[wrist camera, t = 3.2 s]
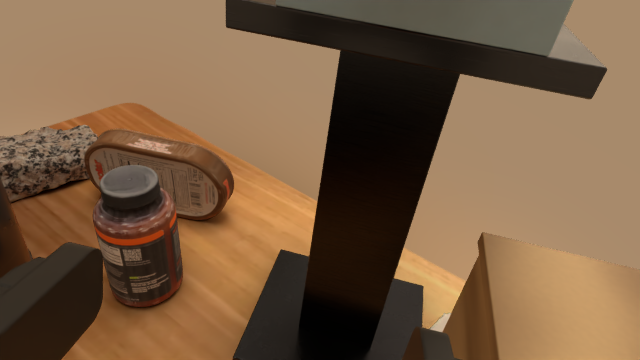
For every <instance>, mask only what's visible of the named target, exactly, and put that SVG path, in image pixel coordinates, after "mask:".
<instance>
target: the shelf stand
mask: <svg viewBox="0 0 640 360" xmlns="http://www.w3.org/2000/svg"><path fill="white" fill-rule="evenodd" d="M226 27H227V28H231V29H236V30H241V31H246V32H251V33H256V34H262V35H266V36H271V37H276V38H281V39H287V40H292V41H297V42H302V43H307V44H312V45H317V46H322V47H327V48H332V49H337V50H340V57H339V64H338V70H337V77H336V83H335V90H334V97H333V103H332V110H331V116H330V123H329V130H328V136H327V143H326V150H325V156H324V163H323V169H322V176H321V183H320V189H319V196H318V202H317V209H316V216H315V222H314V229H313V235H312V242H311V249H310V255H309V256H305V255H301V254H297V253H293V252H289V251H285V250H280V252H279V255H278V257H277V259H276V261H275V264H274V266H273V268H272V270H271V273H270V275H269V277H268V280H267V282H266V284H265V286H264V289H263V291H262V293H261V295H260V298H259V300H258V302H257V304H256V307H255V309H254V311H253V313H252V316H251V318H250V320H249V322H248V325H247V327H246V329H245V331H244V334H243V336H242V338H241V340H240V343H239V345H238V347H237V349H236V352H235V354H234V356H233V360H402V358H403V355H404V353H405V350H406V348H407V345H408V343H409V340H410V338H411V335H412V332H413V330H414V329H415V327H417V326H418V327H422V312H423V286H421V285H417V284H413V283H410V282H406V281H402V280H398V279H394V275H395V272H396V269H397V266H398V263H399V260H400V257H401V253H402V250H403V247H404V244H405V241H406V238H407V235H408V232H409V229H410V226H411V223H412V220H413V217H414V213H415V211H416V207H417V204H418V201H419V198H420V195H421V192H422V189H423V186H424V183H425V180H426V177H427V174H428V170H429V168H430V164H431V161H432V158H433V155H434V152H435V149H436V146H437V143H438V140H439V137H440V134H441V131H442V128H443V125H444V122H445V119H446V115H447V112H448V109H449V106H450V103H451V100H452V97H453V94H454V91H455V88H456V85H457V82H458V79H459V76H460V74H464V75H469V76H474V77H479V78H484V79H489V80H495V81H499V82H504V83H509V84H514V85H519V86H524V87H529V88H535V89H540V90H545V91H550V92H555V93H560V94H565V95H570V96H575V97H580V98H585V99H592V97H593V96H594V94H595V92H596V90H597V88H598V86H599V84H600V82H601V81H602V79H603V76H604V75H605V73H606V71H607V68H606V67H605V66H604V65H603V64H602V63H601V62H600V61H599V60H598V59H597V58H596V57H595V56H594V55H593V54H592V52H590V50H588V48H587V47H586V46H585V45H584V44H583V43H582V42H581V41H580V40H579V39H578V38H577V37H576V36H575V35H574V34H573V33H572V32H571V31H570V30H569V29H568V28H567V27H566V26H565V25H564V24H563V25H562V28H561V30H560V32H559V34H558V37H557V39H556V41H555V43H554V46H553V48H552V50H551V52H550V55H549V56H542V55H537V54H532V53H526V52H521V51H516V50H510V49H505V48H500V47H494V46H489V45H484V44H479V43H473V42H468V41H463V40H457V39H452V38H447V37H441V36H436V35H431V34H425V33H420V32H415V31H409V30H404V29H399V28H394V27H388V26H383V25H378V24H372V23H367V22H362V21H356V20H351V19H346V18H340V17H335V16H330V15H325V14H319V13H314V12H309V11H303V10H298V9H293V8H287V7H282V6H277V5H276V0H226Z"/></svg>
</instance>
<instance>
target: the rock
mask: <svg viewBox="0 0 640 360" xmlns="http://www.w3.org/2000/svg"><path fill="white" fill-rule="evenodd" d="M97 139H98V137H97V134H95V133H93V131H92V130H91V129H90V127H89V126H86V125H82V126H77V127H74V128H72V129H69V130H65V131H62V130H61V129H60V130H56V129H51V128H49V127H43V128H40V129H39V130H29V131H28V132H26V133H25V134H23V135H14V136H7V137H6V136H0V177H1V180H2V182H3V185H4V188H5V190H6V193H7V196H8V198H9V201H10V202H13V201H16V200H18V199H22V198H24V197H27V196H31V195H37V194H38V193H40V192H41V191H43V190H48V189H53V188H57V187H58V186H60V185H61V184H65V183H67V182H69V181H72V180H80V179H87V178H90V177H89V175H88V173H87V170H86V167H85V162H84V155H85V153H86V151H87V149H88V148H89V147H90V146H91V145H92V144H93V143H94V142H95V141H96V140H97Z"/></svg>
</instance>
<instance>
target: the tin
mask: <svg viewBox="0 0 640 360" xmlns="http://www.w3.org/2000/svg"><path fill="white" fill-rule="evenodd" d="M84 162H85V167H86V170H87V173H88V175H89V177H90V179H91V181H92V183H93V184H94V185H95V186H96V187H97V188H98V189H99V190H100V181H101V179H102V177H103V176H104V175H105V174H106V173H108V172H109V171H111V170H113V169H115V168H118V167H121V166H127V165H141V166H145V167H148V168H150V169H152V170H154V171H155V172H156V174H157V175H158V178H159V185H160V188H162V189H164V190H165V191H167V192H168V193H169V194H170V195H171V197H172V198H173V200H174V204H175V208H176V216H178V217H182V218H187V219H193V220H205V219H209V218H211V217H214V216H215V215H217V214H218V213H219V212H220V211H221V210H222V209H223V207H224V206H225V204H226V202H227V200H228V199H229V198H230V197H231V195H232V193H233V189H234V179H233V176H232V173H231V171H230V169H229V168H228V166H227V165H226V163H225V162H224V161H223V160H222V159H221V158H220V157H219V156H218V155H216V154H215V153H214V152H212V151H211V150H209V149H207V148H205V147H203V146H200V145H197V144H193V143H188V142H184V141H179V140H174V139H169V138H165V137H159V136H155V135H150V134H146V133H141V132H137V131H132V130H127V129H110V130H107V131H105V132H104V133H102V134H101V135H100V136H99V137H98V139H97V140H96V141H95V142H94V143H93V144H92V145H91V146H90V147H89V148H88V149H87V151H86V153H85V155H84ZM100 191H101V190H100Z"/></svg>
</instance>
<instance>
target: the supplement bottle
mask: <svg viewBox="0 0 640 360" xmlns="http://www.w3.org/2000/svg"><path fill="white" fill-rule="evenodd" d="M100 190H101V193H102V194H101V198H100V199H99V201H98V202H97V203H96V205H95V207H94V211H93V222H94V226H95V229H96V234H97V238H98V242H99V245H100V249H101V252H102V255H103V260H104V264H105V268H106V272H107V276H108V279H109V283H110V287H111V290H112V292H113V294H114V296H115V297H116V298H117V299H118V300H119V301H120V302H122V303H124V304H126V305H129V306H135V307H145V306H151V305H154V304H158V303H160V302H163V301H164V300H166V299H167V298H169V297H170V296H171V295H172V294H173V293H174V292H175V291H176V290H177V289H178V288H179V286H180V284H181V281H182V277H183V272H182V270H183V268H182V260H181V259H182V258H181V250H180V242H179V233H178V224H177V216H176V208H175V204H174V200H173V198H172V197H171V195H170V194H169V193H168V192H167V191H165V190H164V189H162V188H160V185H159V178H158V175H157V174H156V172H155V171H154V170H152V169H150V168H148V167H145V166H141V165H127V166H121V167H118V168H115V169H113V170H111V171H109V172H108V173H106V174H105V175H104V176H103V177H102V179H101V181H100Z"/></svg>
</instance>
